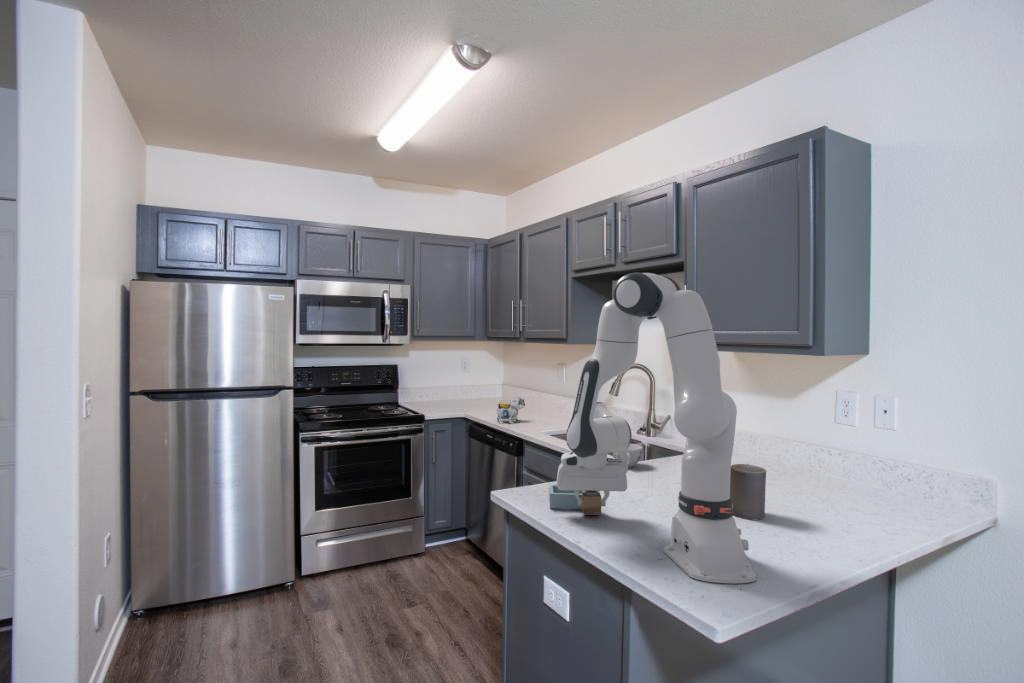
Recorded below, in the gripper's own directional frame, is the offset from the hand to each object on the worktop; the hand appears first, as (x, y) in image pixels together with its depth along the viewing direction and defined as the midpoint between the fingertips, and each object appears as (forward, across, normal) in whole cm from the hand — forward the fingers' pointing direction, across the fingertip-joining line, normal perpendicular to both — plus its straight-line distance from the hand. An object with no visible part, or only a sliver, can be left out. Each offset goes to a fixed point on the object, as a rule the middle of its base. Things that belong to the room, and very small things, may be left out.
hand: (591, 505), depth 152 cm
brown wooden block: (+2, 0, 0) cm, 2 cm away
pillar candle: (+4, -46, -6) cm, 47 cm away
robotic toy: (+1, +34, -156) cm, 159 cm away
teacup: (+3, -19, -58) cm, 61 cm away
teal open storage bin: (+2, +6, -12) cm, 14 cm away
